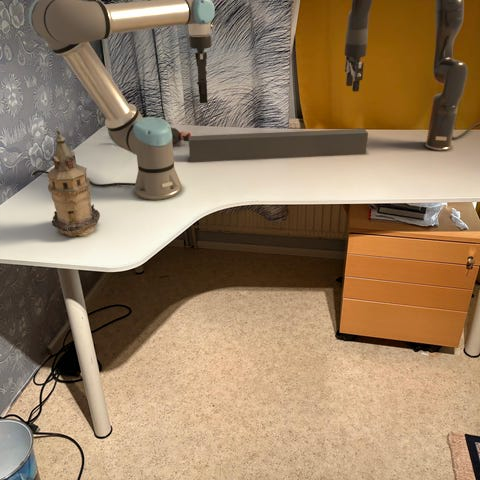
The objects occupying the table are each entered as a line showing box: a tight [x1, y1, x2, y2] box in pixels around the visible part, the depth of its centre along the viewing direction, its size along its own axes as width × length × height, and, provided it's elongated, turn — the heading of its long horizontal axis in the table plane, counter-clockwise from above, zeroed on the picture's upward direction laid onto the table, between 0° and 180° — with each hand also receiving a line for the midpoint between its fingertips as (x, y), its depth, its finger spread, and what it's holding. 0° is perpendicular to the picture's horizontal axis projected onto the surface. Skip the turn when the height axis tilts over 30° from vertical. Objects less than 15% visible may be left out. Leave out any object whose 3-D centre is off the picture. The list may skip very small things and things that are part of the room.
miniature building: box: [46, 129, 101, 237], centre depth 148 cm, size 13×14×30 cm
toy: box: [171, 127, 192, 147], centre depth 218 cm, size 26×6×30 cm
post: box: [188, 128, 369, 163], centre depth 204 cm, size 68×5×8 cm, turn 95°
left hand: (203, 97), depth 192 cm, fingers open, 13 cm apart
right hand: (352, 88), depth 196 cm, fingers open, 8 cm apart
